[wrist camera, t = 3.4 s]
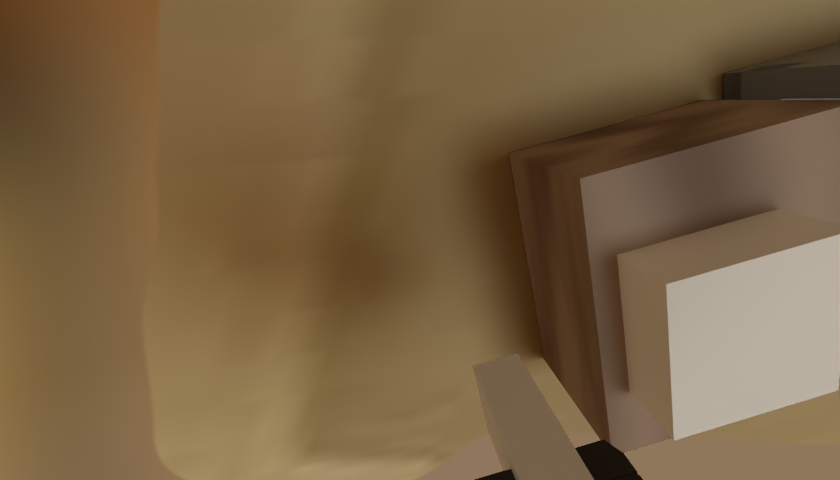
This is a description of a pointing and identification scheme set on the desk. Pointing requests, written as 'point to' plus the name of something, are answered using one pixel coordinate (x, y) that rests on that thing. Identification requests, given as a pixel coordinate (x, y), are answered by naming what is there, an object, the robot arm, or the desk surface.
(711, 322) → the cream tile
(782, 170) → the brown block
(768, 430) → the desk surface
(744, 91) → the box
